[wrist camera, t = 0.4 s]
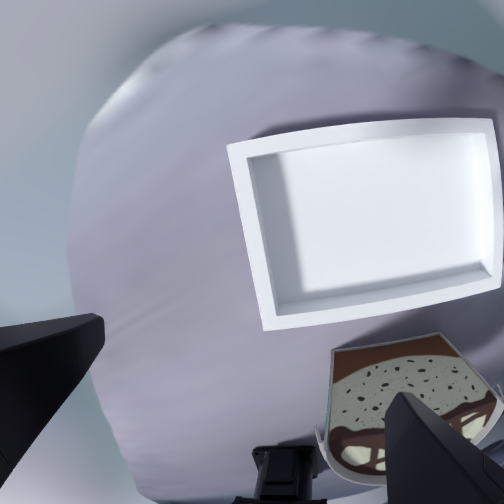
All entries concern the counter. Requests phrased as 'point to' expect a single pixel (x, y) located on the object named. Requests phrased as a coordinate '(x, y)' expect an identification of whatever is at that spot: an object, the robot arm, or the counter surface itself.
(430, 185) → the tray
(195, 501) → the counter surface
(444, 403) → the food container
